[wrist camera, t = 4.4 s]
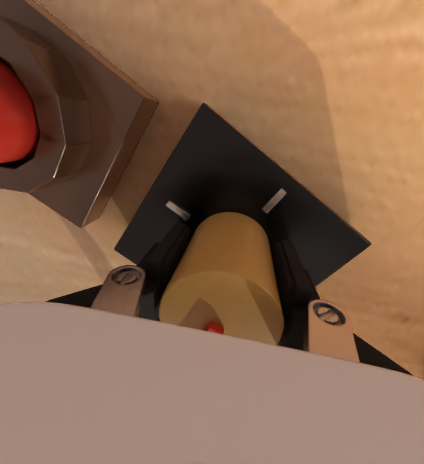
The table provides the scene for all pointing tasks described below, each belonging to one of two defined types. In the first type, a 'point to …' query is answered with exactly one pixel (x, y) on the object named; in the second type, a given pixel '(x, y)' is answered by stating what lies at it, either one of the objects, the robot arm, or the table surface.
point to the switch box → (70, 114)
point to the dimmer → (239, 199)
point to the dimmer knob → (226, 282)
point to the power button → (16, 118)
